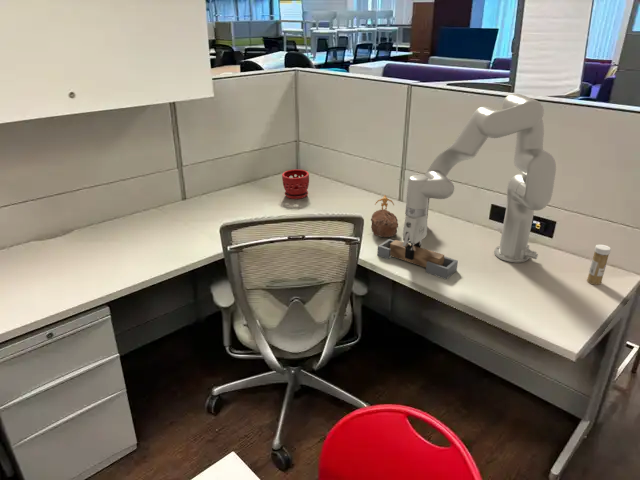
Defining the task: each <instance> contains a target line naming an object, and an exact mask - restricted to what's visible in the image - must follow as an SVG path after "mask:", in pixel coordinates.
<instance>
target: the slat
mask: <svg viewBox="0 0 640 480" xmlns="http://www.w3.org/2000/svg"><path fill="white" fill-rule="evenodd" d="M403 242H404V241H401V240H398V239H395V240H394V241H393V242H392V243H390V249H391V251H390V257H392V258H395V259H399V260H402V261H405V262H408V263H411V264H414V265H417V266H420V267H423V268H426V265H427V262H428V261H429V262H432V263H435V264H438V265H441V266H443V264H444V256H445V254H444V253H440V252H438V251H437V252H436V251H433V250H430V249H427V248H425V247H424V248H423V247H417V246H414V247H413V250H414V258H413V260H410V259H407V258H405V250H406V249H405V247H404V246H403ZM409 245H410V246H411V244H410V243H409Z"/></svg>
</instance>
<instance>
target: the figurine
mask: <svg viewBox="0 0 640 480" xmlns="http://www.w3.org/2000/svg"><path fill="white" fill-rule="evenodd" d="M379 202H381V209H384V207H385V210H387V207H388V206H389V205H388V202H391V203H392V206H395V203H394V202H393V200H391V199H389V198H388V197H387V195H386V194H384V195H383V197H382V198H380V199H378V200H377V201H375V204H374V205H375V206H376V205H377V204H378V203H379Z"/></svg>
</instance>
